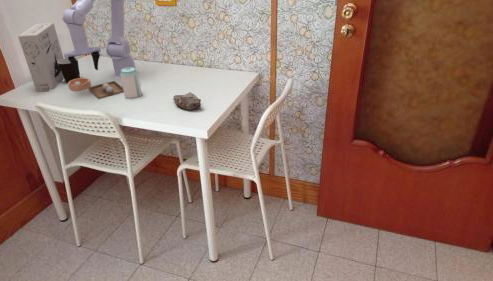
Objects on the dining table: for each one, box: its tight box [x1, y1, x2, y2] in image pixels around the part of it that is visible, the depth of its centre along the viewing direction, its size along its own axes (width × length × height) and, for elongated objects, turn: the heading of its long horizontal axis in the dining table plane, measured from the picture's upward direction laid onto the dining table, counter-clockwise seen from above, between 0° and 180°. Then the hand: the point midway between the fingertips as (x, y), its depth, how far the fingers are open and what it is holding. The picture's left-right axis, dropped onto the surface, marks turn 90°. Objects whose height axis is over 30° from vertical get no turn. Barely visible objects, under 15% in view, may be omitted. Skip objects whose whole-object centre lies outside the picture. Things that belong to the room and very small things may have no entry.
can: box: [120, 67, 143, 99], centre depth 159 cm, size 7×7×12 cm
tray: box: [87, 80, 124, 100], centre depth 167 cm, size 12×14×1 cm
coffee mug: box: [58, 57, 81, 83], centre depth 179 cm, size 12×9×10 cm
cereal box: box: [17, 22, 65, 93], centre depth 173 cm, size 22×8×25 cm, turn 6°
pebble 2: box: [106, 86, 114, 94], centre depth 163 cm, size 3×3×3 cm
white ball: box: [102, 82, 110, 91], centre depth 166 cm, size 3×3×3 cm
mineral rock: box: [172, 92, 202, 110], centre depth 151 cm, size 15×8×4 cm, turn 32°
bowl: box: [67, 77, 92, 92], centre depth 171 cm, size 9×9×3 cm
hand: (87, 71), depth 163 cm, fingers open, 7 cm apart
